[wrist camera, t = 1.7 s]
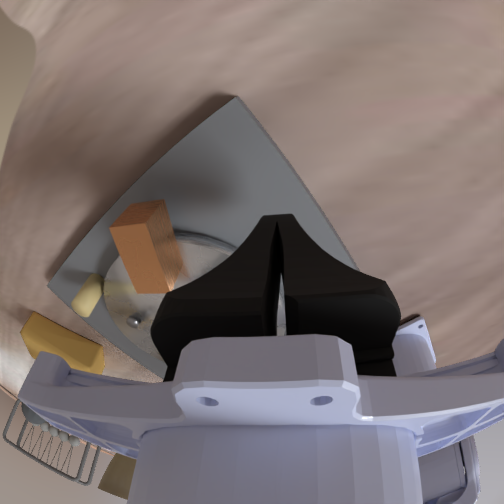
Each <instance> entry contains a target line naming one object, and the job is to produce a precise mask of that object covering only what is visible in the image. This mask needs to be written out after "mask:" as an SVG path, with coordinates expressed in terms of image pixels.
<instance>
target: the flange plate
mask: <svg viewBox="0 0 504 504" xmlns="http://www.w3.org/2000/svg"><path fill="white" fill-rule="evenodd" d="M109 229H110V232H111V234H112V237H113V239H114V242H115V244H116V247H117V249H118V252H119V255H118V257H117V258H116V260H115V261H114V262H113V264H112V265H111V267H110V269H109V270H108V272H107V275H106V278H105V282H104V299H105V303H106V306H107V309H108V312H109V314H110V316H111V318H112V320H113V321H114V323H115V324H116V325H117V327H118V328H119V329H120V331H121V332H122V333H123V334H124V335H125V336H126V337H127V338H128V339H129V340H130V341H131V342H132V343H134V344H135V345H136V346H137V347H139V348H140V349H142V350H143V351H145V352H146V353H148V354H150V355H151V356H153V357H155V358H157V359H159V360H161V361H163V362H164V360H163V359H162V357H161V355H160V354H159V352H158V350H157V349H156V347H155V345H154V343H153V341H152V339H151V336H150V328H151V326H152V323H153V321H154V318H155V316H156V313H157V310H158V308H159V306H160V303H161V302H162V300H163V298H164V296H165V294H166V293H167V292H169V291H172V290H174V289H176V288H179V287H181V286H183V285H186V284H188V283H190V282H192V281H194V280H195V279H197V278H199V277H201V276H203V275H204V274H206V273H208V272H209V271H211V270H212V269H213V268H215V267H216V266H218V265H219V264H220V263H222V262H223V261H224V260H226V259H227V258H228V257H229V256H230V255H231V254H233V253H234V252H235V251H236V250H237V248H235V247H233V246H231V245H228V244H226V243H224V242H222V241H219V240H215V239H212V238H209V237H205V236H201V235H196V234H188V233H174V231H173V228H172V224H171V221H170V217H169V214H168V210H167V206H166V203H165V199H160V200H153V201H146V202H139V203H133V204H130V205H129V206H128V207H127V209H126V210H125V211H124V212H123V213H122V214H121V215H120V216H119V217H118V218H117V219H116V221H115V222H114V223H113V224H112V225H111V226H110V227H109ZM285 329H286V319H285V303H284V299H283V296H282V293H281V291H280V293H279V303H278V314H277V336H284V333H285Z"/></svg>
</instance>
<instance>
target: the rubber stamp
mask: <svg viewBox="0 0 504 504" xmlns="http://www.w3.org/2000/svg"><path fill="white" fill-rule="evenodd" d="M20 333H21V335H22V338H23V340H24V342H25V344H26V346H27V348H28V351H29V353H30V355H31V356H32V357H33V358H34V359H36V358H37V356H38V354H39V353H40V351H44V352H48V353H52V354H56V355H59V356H60V357H62V358H63V359H64V360H65V361H66V362H67V363H68V364H69V366H70V368H72V369H77V370H81V371H85V372H90V373H95V374H100V375H101V374H102V372H103V370H104V367H105V365H104V355H103V346H101V345H99V344H97V343H95V342H93V341H90V340H88V339H86V338H84V337H82V336H80V335H78V334H76V333H74V332H72V331H70V330H68V329H66V328H64V327H62V326H60V325H58V324H56V323H54V322H52V321H50V320H49V319H47V318H45V317H43V316H41V315H40V314H38V313H36V312H33V313H32V315H31V316H30V318H29V319H28V321H27V322H26V324H25V325H24V327H23V328H22V330H21V332H20ZM22 412H23V414H24V416H25V418H26V419H27V420H28V421H29V422H31V423H33V424H37V425H38V424H42V423H44V422H45V421H46V420H44V419H43V418H42V417H40V416H39V415H38V414H36V413H35V412H34V411H33V410H32V409H30V408H29V407H28V406H27V405H25V404H24V403H23V402H22Z"/></svg>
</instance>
